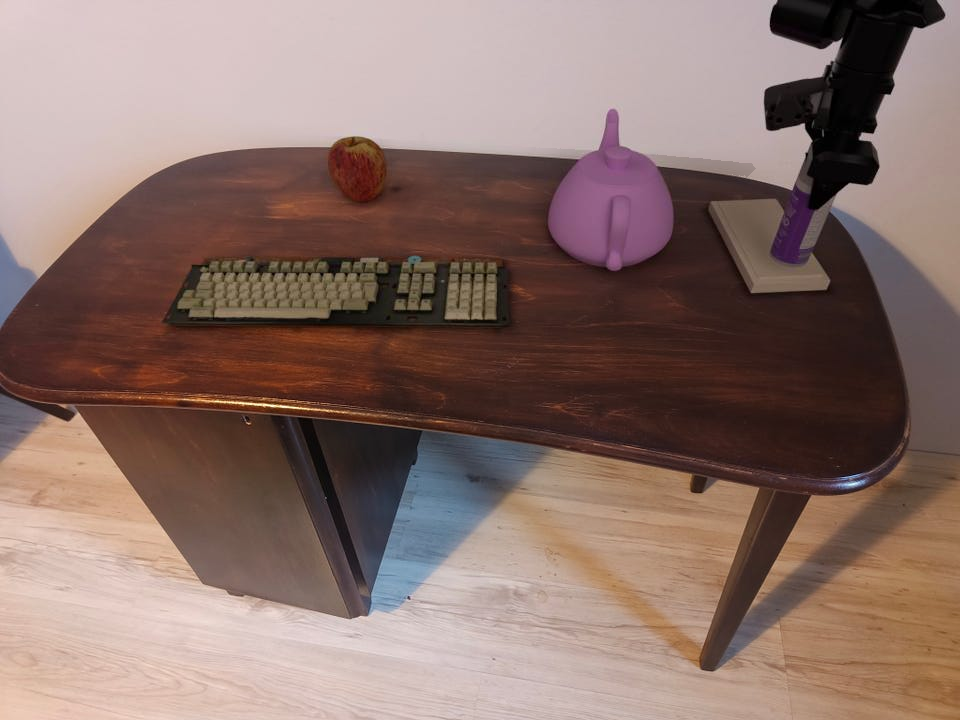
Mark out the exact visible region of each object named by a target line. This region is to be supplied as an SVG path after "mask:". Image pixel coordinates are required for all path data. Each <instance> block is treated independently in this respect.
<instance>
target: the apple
mask: <svg viewBox="0 0 960 720" xmlns="http://www.w3.org/2000/svg"><path fill="white" fill-rule="evenodd" d="M327 169H328V173H329V176H330V179H331V181H332V182H333V185H334V186H335V187H336V188H337V189H338V190H339V191H340V192H341V193H342V194H343V195H344V196H345V197H347V198H348V199H350V200H352V201H355V202H359V203H365V202H370V201H373V200H374V199H376V198H377V197H378V196H380V193H381V192H382V190H383V188H384V185H385V182H386V178H387V174H388V164H387V160H386V156H385V153H384V150H383V149H382V148H381V145H380V144H378V143H376V142H375V141H374V140H372V139H370V138H367V137H364V136H358V135H357V136H356V135H355V136H347V137H343V138H339V139H337V141H335V142H334V143H333V144H332V145H331V146H330V149H329V151H328V154H327Z"/></svg>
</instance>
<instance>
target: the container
mask: <svg viewBox="0 0 960 720" xmlns="http://www.w3.org/2000/svg"><path fill="white" fill-rule="evenodd" d="M818 139H820V138H818ZM818 139H815V140H813V141H812V140H811V142H810V145H809V148H808V150H807V151H806V152H807V153H808V152H809V150H810V147H811V144H812V143H813V142H815V141H816V140H818ZM799 169H800V170H799V171H798V174H797V177H796V180H795V182H794V185H793V188H792V190H791V192H790V195H789V198H788V201H787V203H786V207H785V209H784V211H785V212H784V214H783V217H782V220H781V223H780V225H779V228H778V231H777V233H776V236H775V239H774V242H773V244H772V247H771V250H770V256H771V258H772V259H773V260H774V261H775V262H777V263H778V264H781V265H783V266H787V267H801V266H804V265H805V264H806V263H807V262H808V260H809V258H810V255H811V253H813V251H814V248H815V246H816V244H817V241H818V239H819V236H820V234H821V232H822V229H823V228H824V225H825V223H826V220H827V218H828V216H829V213H830V211H831V208H832V207H833V204H834V201H835V199H836V197H837V194H838V193H837V194H836V195H835V196H833V197H832V198H831V199H830V200H829V201H828V202H827V203H825V204H824V205H823V206H822V207H821V208H820V209H818V210H811V209H808V203H809V197H810V191H811V185H812V180H813V178H811V177H809V176H808V175H806V163H805V158H804V160H803V162H802V164H801V167H800V168H799Z"/></svg>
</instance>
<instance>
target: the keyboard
mask: <svg viewBox="0 0 960 720" xmlns="http://www.w3.org/2000/svg"><path fill="white" fill-rule="evenodd" d="M503 261H504V260H503V259H493V258H465V257H464V258H462V257H461V258H459V257H458V258H456V257H455V258H454V257H444V258H443V257H420V256H419V255H411V256H410V257H404V258H396V257H348V256H347V257H346V256H345V257H343V256H341V257H329V256H328V257H327V256H326V257H325V256H322V257H309V258H306V257H305V258H302V257H294V256H292V257H291V256H285V257H284V256H279V257H278V256H271V257H269V256H266V257H265V256H257V257H256V256H248V258H243V257H242V256H218V257H217V256H215V257H214V258H212V257H208V258H207V257H206V258H204V259H203V260H202V262H201V264H190V266H191V267H190V269H189V271H188V274H187V275H186V277H185V279H184V281H183V283H182V285H181V286H180V288H179V290H178V292H177V294H176V296H175V298H174V299H173V301H172V303H171V304H170V306H169V308H168V310H167V312H166V314H165V316H164V317H163V319H162V321H161V324H169V326H194V327H195V326H196V327H197V326H201V327H203V326H206V327H207V326H211V327H212V326H214V327H215V326H217V327H222V326H223V327H225V326H226V327H317V328H319V327H320V328H323V327H324V328H327V327H328V328H331V327H333V328H334V327H336V328H343V327H344V328H469V329H470V328H471V329H472V328H473V329H475V328H479V329H485V328H486V329H501V328H503V326H510V289H511V286H510V279H509V278H510V277H509V275H510V273H509V268H505V266H504V265H503V264H504V263H503ZM186 284H187V286H185V285H186ZM394 285H395V286H396V287H394ZM504 286H506V288H504ZM169 315H170V317H168V316H169ZM388 317H389V318H390V319H387V318H388ZM504 317H505V319H506V320H504Z"/></svg>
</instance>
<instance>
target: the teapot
mask: <svg viewBox="0 0 960 720" xmlns="http://www.w3.org/2000/svg"><path fill="white" fill-rule="evenodd" d="M619 124H620V117H619V112H618V110H617V109H616V108H610V109H609V110H608V112H607V114H606V118H605V125H604V131H603V134H602V138H601V141H600V145H599V147H598V149H597V150H593V151H591V152H588V153H587V154H585V155H583V156H582V157H581V158H580V159H579V160H578V161H577V162H576V163H575V164H574V165H573V166H572V167H571V169H570V170H569V171H568V172H567V173H566V175H565V176H564V178H563V179H562V180H561V182H560V183H559V185H558V187H557V189H556V191H555V193H554V195H553V197H552V200H551V203H550V207H549V210H548V216H547V217H548V218H547V225H548V226H547V227H548V230H549V232H550V235H551V237H552V239H553V240H554V241H555V243H556V244H557V245H558V246H559V247H560V248H561V249H562V250H563V251H564V252H565V253H566V254H567V255H569V256H571V257H572V258H573V259H575V260H577V261H579V262H582V263H584V264H587V265H591V266H595V267H601V268H606V269H607V270H609V271H612V272H617V271H620V270H621V269H622V268H624V267H630V266H634V265H637V264H640V263H642V262H644V261H645V260H648V259H650V258H651V257H653V256H654V255H656V254H658V253H659V252H660V251H661V250H663V248H665V247H666V246H667V244H668V242H669V241H670V240H671V237H672V235H673V230H674V222H675V221H674V219H675V218H674V217H675V216H674V215H675V214H674V206H673V200H672V197H671V193H670V191H669V188H668V185H667V183H666V181H665V179H664V177H663V175H662V173H661V171H660V169H659V168H658V166H657V165H656V163H655V162H654V161H653V160H652V159H651V158H650V157H648V156H647V155H646V154H643V153H641V152H639V151H635V150H632V149H631V148H629V147H627V146H623V145H620V144H621V143H620V133H619V132H620V131H619V126H620V125H619Z"/></svg>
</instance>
